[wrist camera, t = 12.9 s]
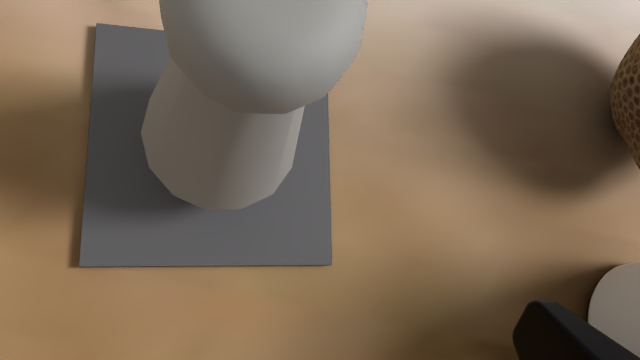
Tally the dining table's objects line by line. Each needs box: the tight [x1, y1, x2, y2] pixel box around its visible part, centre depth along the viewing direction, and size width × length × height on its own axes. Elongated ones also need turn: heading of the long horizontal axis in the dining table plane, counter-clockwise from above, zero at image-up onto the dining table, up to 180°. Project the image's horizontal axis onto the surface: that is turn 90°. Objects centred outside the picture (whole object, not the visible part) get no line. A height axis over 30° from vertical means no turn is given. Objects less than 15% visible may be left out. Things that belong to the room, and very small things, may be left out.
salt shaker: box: [141, 0, 368, 210], centre depth 16 cm, size 6×6×13 cm
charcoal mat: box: [79, 23, 332, 267], centre depth 23 cm, size 10×10×1 cm
